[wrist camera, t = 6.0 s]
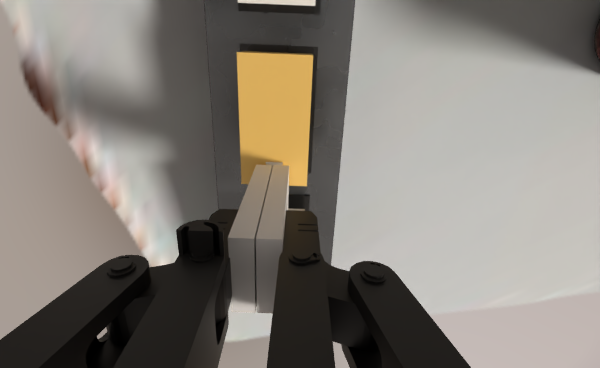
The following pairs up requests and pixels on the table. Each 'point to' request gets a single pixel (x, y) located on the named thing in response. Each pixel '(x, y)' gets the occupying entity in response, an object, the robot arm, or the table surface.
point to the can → (597, 40)
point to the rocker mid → (274, 112)
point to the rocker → (281, 2)
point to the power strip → (324, 96)
